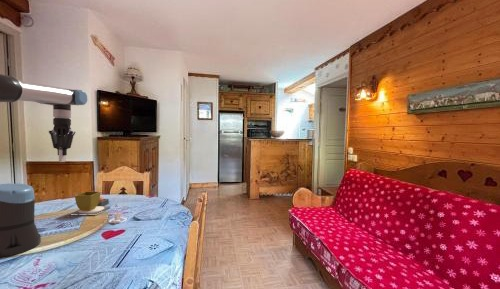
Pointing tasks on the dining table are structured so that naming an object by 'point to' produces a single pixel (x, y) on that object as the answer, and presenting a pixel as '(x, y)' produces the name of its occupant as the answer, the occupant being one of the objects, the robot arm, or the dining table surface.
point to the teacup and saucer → (117, 218)
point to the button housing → (103, 202)
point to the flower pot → (87, 200)
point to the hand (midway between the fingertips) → (62, 161)
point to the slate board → (93, 211)
